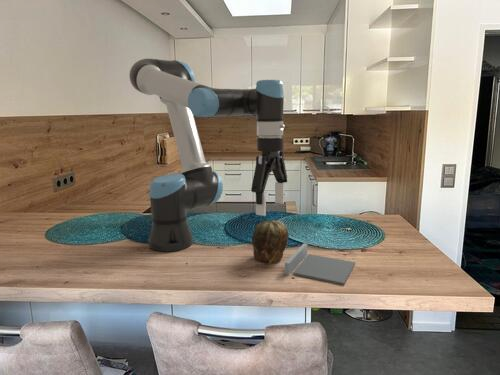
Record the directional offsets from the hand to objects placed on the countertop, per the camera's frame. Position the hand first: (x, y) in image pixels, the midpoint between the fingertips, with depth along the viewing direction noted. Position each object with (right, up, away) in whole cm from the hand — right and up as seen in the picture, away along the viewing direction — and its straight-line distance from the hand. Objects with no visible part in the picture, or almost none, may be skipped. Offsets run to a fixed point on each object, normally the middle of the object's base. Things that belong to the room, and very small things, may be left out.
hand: (270, 208), depth 106 cm
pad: (+15, -17, -4) cm, 23 cm away
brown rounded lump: (0, -16, +4) cm, 16 cm away
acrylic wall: (+8, -16, 0) cm, 18 cm away
